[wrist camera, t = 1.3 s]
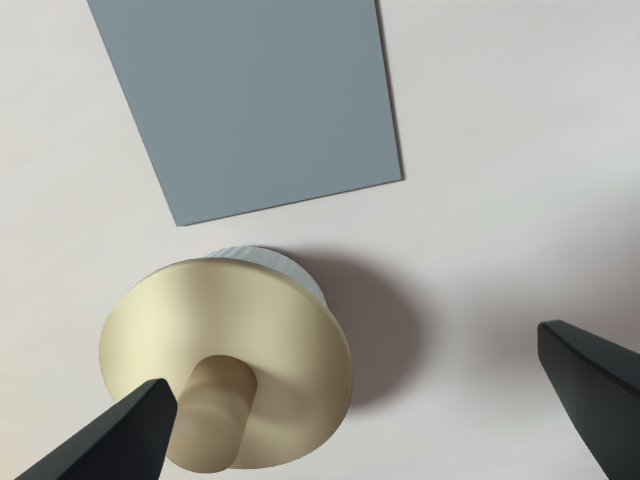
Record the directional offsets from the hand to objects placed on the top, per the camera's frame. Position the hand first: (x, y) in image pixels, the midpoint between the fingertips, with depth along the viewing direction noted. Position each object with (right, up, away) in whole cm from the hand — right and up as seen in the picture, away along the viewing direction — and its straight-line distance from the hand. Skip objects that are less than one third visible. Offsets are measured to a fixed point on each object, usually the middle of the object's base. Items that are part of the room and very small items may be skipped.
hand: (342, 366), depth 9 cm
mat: (-4, +11, +9) cm, 15 cm away
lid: (-5, -4, +10) cm, 12 cm away
